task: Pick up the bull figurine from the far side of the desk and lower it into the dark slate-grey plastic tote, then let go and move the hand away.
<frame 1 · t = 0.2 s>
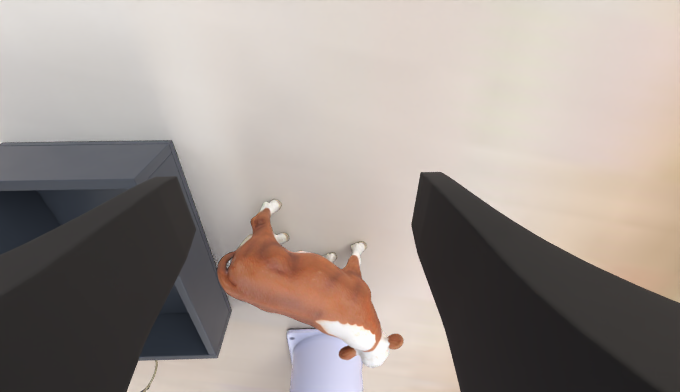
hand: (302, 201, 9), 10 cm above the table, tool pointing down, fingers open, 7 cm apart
tote: (142, 245, 24), on the table
bull figurine: (321, 239, 24), on the table
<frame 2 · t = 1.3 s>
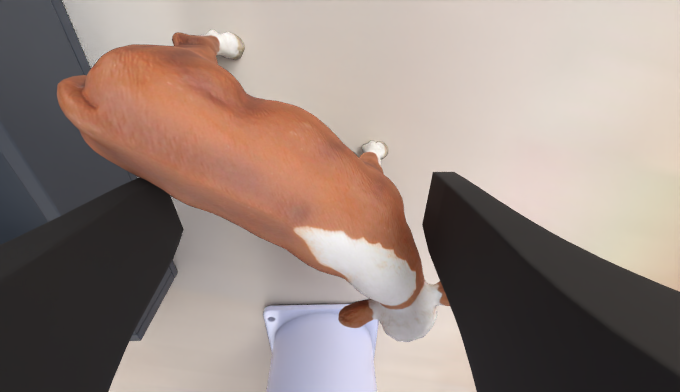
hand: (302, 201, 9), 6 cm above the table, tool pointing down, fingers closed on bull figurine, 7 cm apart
tote: (9, 142, 14), on the table
bull figurine: (314, 135, 15), on the table, touching gripper
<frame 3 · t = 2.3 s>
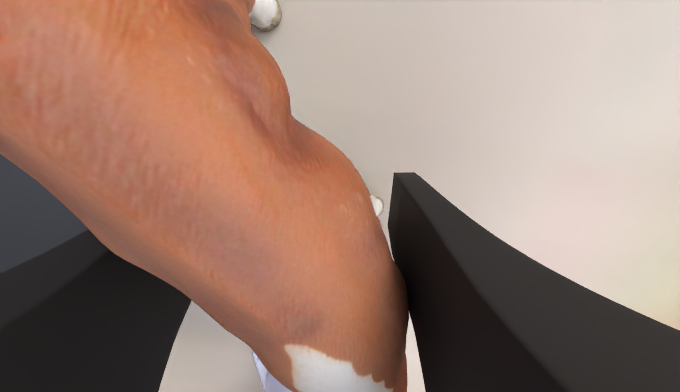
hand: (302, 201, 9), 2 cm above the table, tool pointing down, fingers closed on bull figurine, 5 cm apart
bull figurine: (309, 161, 11), on the table, touching gripper
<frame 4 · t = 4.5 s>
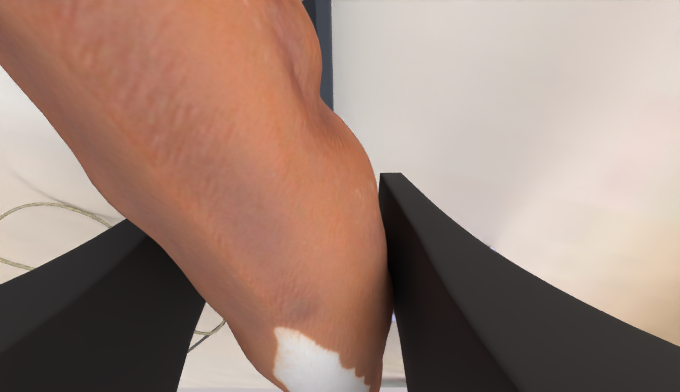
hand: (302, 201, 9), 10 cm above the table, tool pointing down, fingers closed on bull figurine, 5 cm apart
tote: (244, 102, 17), on the table
eyeglasses: (119, 286, 27), on the table
bull figurine: (305, 149, 11), point 7 cm above the table, touching gripper
when the fingers open (3 cm above the table, at t = 7.2 s): bull figurine stays where it is, resting on tote.
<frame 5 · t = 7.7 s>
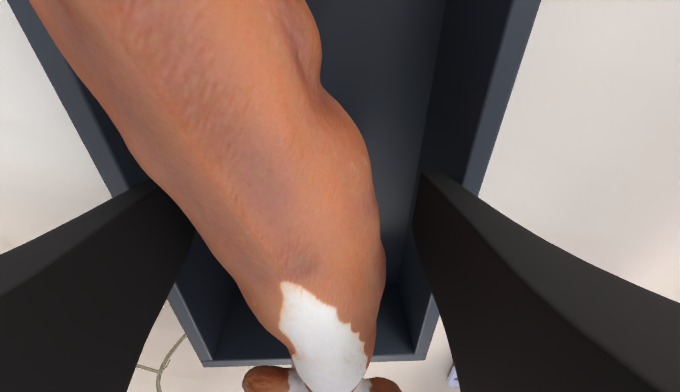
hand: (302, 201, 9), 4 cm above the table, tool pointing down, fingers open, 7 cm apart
tote: (308, 145, 12), on the table
eyeglasses: (125, 352, 22), on the table
bull figurine: (305, 138, 12), resting on tote
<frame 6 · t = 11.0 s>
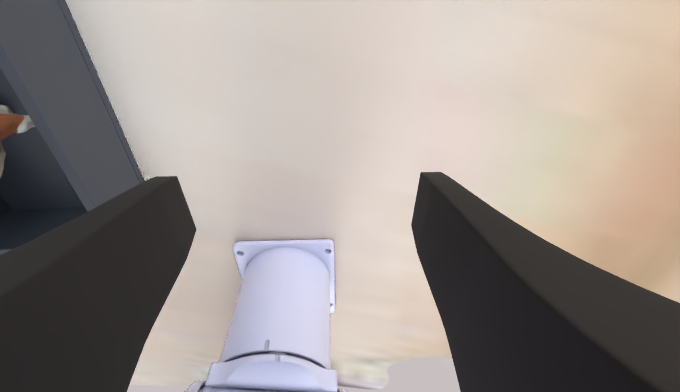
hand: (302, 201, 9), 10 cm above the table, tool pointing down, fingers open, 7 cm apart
tote: (9, 84, 17), on the table
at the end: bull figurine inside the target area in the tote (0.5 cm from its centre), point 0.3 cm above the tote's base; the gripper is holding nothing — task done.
